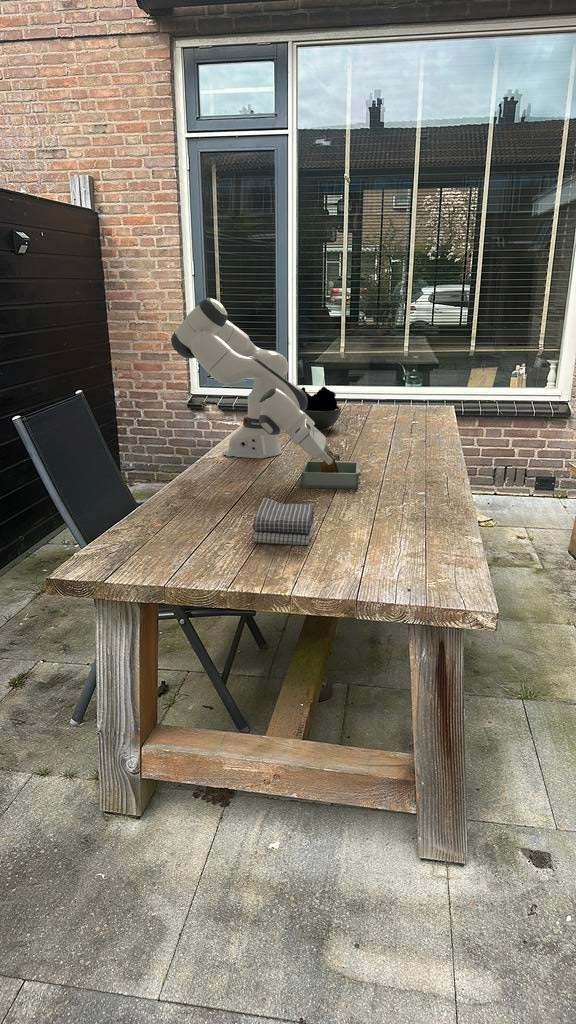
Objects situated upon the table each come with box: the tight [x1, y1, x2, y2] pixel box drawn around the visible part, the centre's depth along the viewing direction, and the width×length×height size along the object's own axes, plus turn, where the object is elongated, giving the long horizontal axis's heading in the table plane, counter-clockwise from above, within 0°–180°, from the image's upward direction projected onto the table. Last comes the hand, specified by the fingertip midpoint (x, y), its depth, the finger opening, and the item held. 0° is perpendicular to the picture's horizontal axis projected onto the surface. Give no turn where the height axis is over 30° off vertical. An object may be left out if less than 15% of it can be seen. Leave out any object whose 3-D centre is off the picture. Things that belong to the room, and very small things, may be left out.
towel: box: [252, 497, 315, 546], centre depth 179 cm, size 15×18×8 cm
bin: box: [301, 460, 360, 490], centre depth 225 cm, size 18×15×5 cm
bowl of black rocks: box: [300, 386, 342, 431], centre depth 302 cm, size 20×20×19 cm
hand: (331, 459), depth 223 cm, fingers open, 8 cm apart
